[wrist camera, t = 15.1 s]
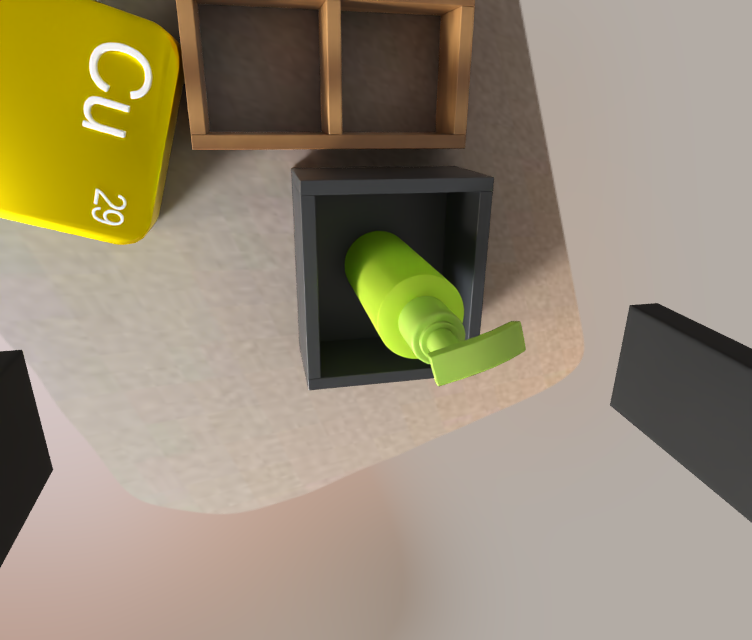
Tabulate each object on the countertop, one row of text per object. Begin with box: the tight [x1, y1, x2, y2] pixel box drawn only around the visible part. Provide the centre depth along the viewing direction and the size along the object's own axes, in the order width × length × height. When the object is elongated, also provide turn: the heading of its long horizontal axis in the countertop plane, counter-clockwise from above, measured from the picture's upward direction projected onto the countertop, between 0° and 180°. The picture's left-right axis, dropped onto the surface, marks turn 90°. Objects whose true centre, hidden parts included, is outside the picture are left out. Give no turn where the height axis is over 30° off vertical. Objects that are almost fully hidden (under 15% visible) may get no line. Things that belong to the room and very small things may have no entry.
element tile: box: [0, 0, 185, 245], centre depth 36 cm, size 15×15×5 cm
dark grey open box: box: [291, 166, 494, 390], centre depth 44 cm, size 16×14×8 cm
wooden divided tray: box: [176, 0, 475, 150], centre depth 39 cm, size 10×20×4 cm, turn 89°
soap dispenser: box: [345, 231, 526, 386], centre depth 38 cm, size 6×7×20 cm
